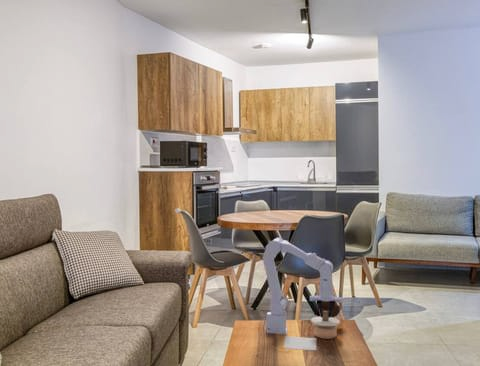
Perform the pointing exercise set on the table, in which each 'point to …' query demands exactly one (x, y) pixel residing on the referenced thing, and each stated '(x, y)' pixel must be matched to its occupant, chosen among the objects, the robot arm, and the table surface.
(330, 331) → the bowl
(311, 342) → the mat
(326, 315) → the lid
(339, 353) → the table surface
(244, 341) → the table surface
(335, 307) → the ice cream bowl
